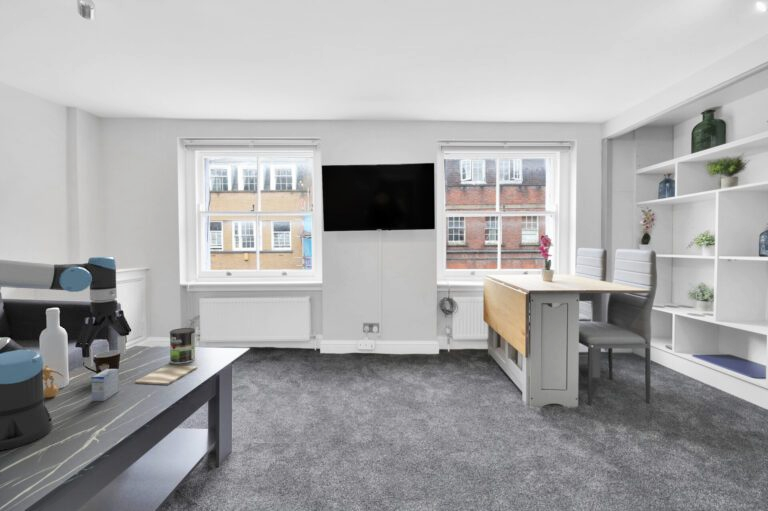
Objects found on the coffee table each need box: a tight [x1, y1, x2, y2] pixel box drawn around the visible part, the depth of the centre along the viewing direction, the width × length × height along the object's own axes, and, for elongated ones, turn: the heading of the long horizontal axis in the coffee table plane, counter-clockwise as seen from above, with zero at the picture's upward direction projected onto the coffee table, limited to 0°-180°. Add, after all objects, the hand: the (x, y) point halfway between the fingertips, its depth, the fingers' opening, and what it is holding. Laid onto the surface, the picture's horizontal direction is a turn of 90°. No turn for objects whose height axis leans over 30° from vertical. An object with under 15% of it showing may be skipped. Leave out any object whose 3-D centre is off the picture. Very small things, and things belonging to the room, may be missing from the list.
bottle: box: [38, 307, 70, 391], centre depth 136 cm, size 8×8×30 cm
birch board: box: [134, 364, 198, 386], centre depth 149 cm, size 18×14×1 cm
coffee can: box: [169, 327, 196, 365], centre depth 167 cm, size 10×10×14 cm
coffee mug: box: [82, 350, 122, 375], centre depth 145 cm, size 12×9×10 cm
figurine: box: [43, 366, 63, 399], centre depth 126 cm, size 8×6×12 cm
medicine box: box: [91, 368, 120, 402], centre depth 129 cm, size 8×4×9 cm, turn 6°
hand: (106, 359), depth 128 cm, fingers open, 13 cm apart
